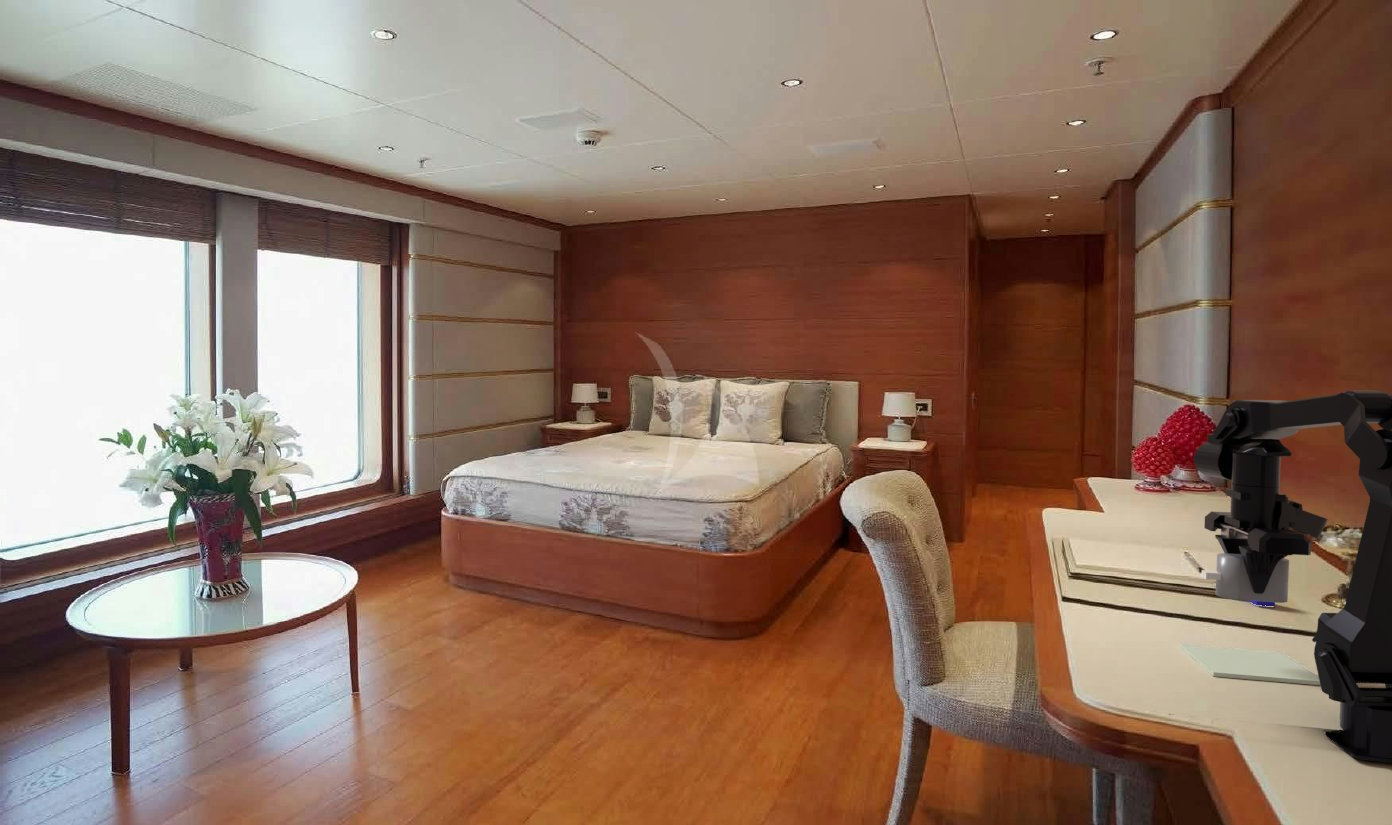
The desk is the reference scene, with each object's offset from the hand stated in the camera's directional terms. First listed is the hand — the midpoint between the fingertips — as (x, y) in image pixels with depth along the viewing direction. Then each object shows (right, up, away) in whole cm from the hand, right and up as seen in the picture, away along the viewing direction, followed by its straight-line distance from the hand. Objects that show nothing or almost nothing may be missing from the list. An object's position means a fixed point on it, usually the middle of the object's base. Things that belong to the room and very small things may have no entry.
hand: (1251, 589), depth 112 cm
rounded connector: (0, -1, 0) cm, 1 cm away
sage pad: (0, -12, 0) cm, 12 cm away
